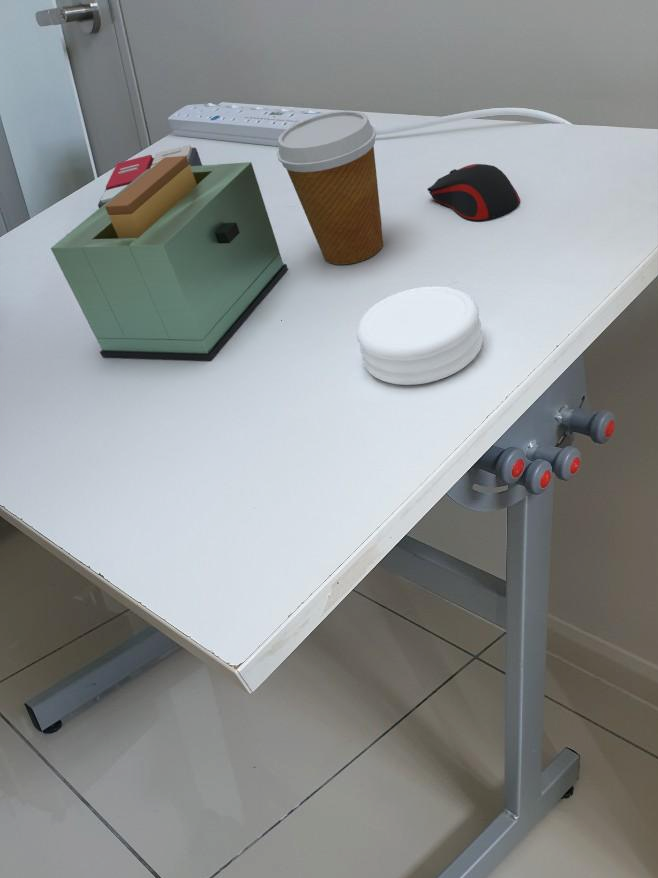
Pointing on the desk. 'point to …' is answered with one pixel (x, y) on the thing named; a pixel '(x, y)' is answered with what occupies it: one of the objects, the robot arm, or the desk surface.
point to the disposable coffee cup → (336, 182)
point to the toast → (151, 196)
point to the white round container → (420, 335)
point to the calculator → (142, 169)
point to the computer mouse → (476, 192)
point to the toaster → (176, 270)
